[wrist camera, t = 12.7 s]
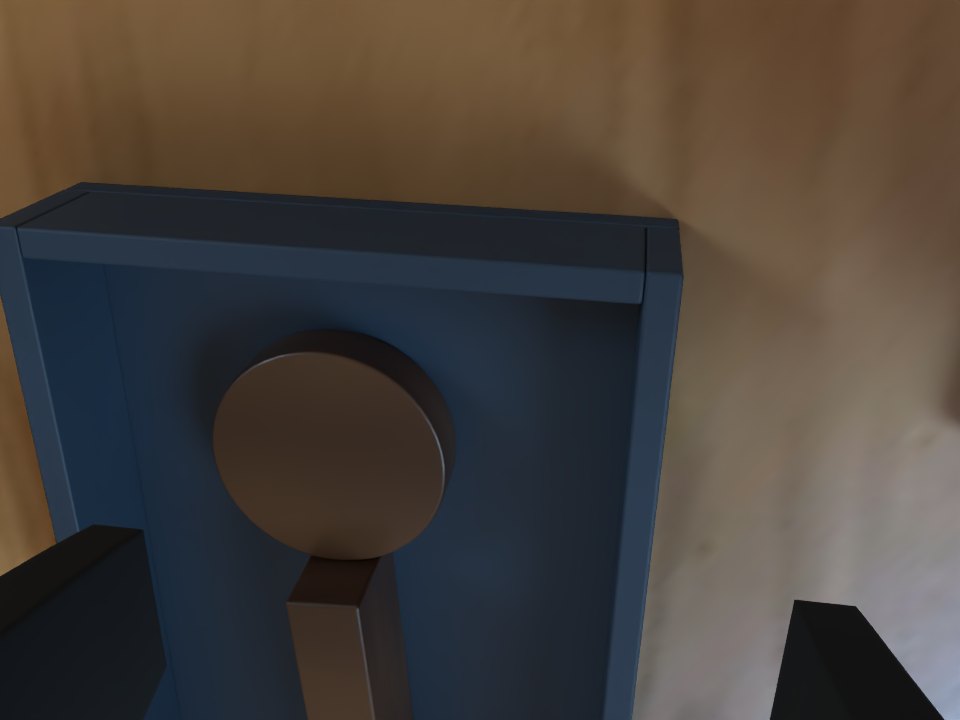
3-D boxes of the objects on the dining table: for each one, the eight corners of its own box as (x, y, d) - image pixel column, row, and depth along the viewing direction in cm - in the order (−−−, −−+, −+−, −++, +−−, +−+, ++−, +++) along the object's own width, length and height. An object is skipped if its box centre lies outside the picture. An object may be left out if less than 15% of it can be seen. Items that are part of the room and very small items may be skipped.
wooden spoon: (495, 892, 25) (479, 988, 23) (323, 871, 26) (291, 962, 24) (447, 328, 18) (418, 386, 16) (214, 326, 19) (155, 381, 17)
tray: (678, 218, 17) (684, 273, 15) (596, 953, 27) (590, 1071, 24) (80, 181, 19) (-17, 225, 16) (203, 884, 29) (155, 986, 26)
